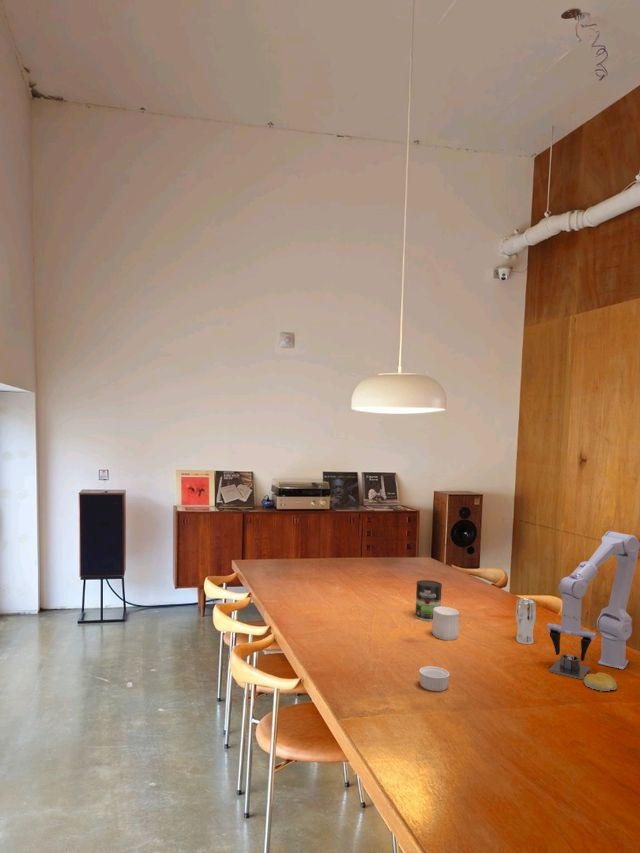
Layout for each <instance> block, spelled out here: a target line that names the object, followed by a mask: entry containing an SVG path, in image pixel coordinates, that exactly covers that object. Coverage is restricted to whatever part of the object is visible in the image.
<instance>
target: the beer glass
mask: <svg viewBox="0 0 640 853" xmlns="http://www.w3.org/2000/svg"><path fill="white" fill-rule="evenodd" d="M515 604H516V605H515V606H516V607H515V620H516V627H517V631H516V632H517V634H516V637H515V640H516V642H517V643H519V644H523V645H533V644H534V637H533V636H534V635H533V632H534V626H535V624H536V623H535V622H536V617H537V616H536V615H537V611H536V610H537V608H536V606H537V605H536V601H535V600H533V599H530V598H525V597H524V598H517V599H516V603H515Z"/></svg>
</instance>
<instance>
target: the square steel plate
mask: <svg viewBox="0 0 640 853" xmlns="http://www.w3.org/2000/svg"><path fill="white" fill-rule="evenodd" d="M574 656H575V655H574ZM574 656H573V654H570V655H566V659H569V660H574ZM590 670H591V667H590V666H586V665H582V664H580V670H579V671H578V672H570V671H566V670H563V669H562V668H561V667H560V659H557V660H556V661H555V662H554V663H553V664H552V665H551V666H550V668H549V669H548V673H552V672H553V674H556V673H557V675H560V674H562V675H561V676H564V675H566V676H565V677H568V676H570V677H569V678H572V677H574V678H573V679H576V678H578V679H577V680H579V679H583V680H584V676H585V675H587V674H588V673H589V671H590ZM587 672H588V673H587Z"/></svg>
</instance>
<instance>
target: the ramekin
mask: <svg viewBox="0 0 640 853" xmlns="http://www.w3.org/2000/svg"><path fill="white" fill-rule="evenodd" d="M418 672H419V683H420V684H419V685H420V686H421V687H422V688H423V689H426V690H427V691H432V692H443V691H445V690H447V688H448V684H449V677H450V672H449V670H446V669H445V668H442V667H438V666H429V665H428V666H423V667H421V668H419V671H418Z"/></svg>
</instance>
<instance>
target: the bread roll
mask: <svg viewBox="0 0 640 853" xmlns="http://www.w3.org/2000/svg"><path fill="white" fill-rule="evenodd" d="M583 683H584V685H585V686H586V688H588V687H590V688H589V689H591V688H592V689H591V690H593V689H596V690H595V691H597V690H600V691H599V692H602V691H608V692H611V691H610V690H614V691H615V690H617V688H618V686H617V682H616V680H615V679H614V677H613V676H611V675H610V674H608V673H605V672H602V671H600V672H596V673H587V674H586V676H585V677H584V678H583Z"/></svg>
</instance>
